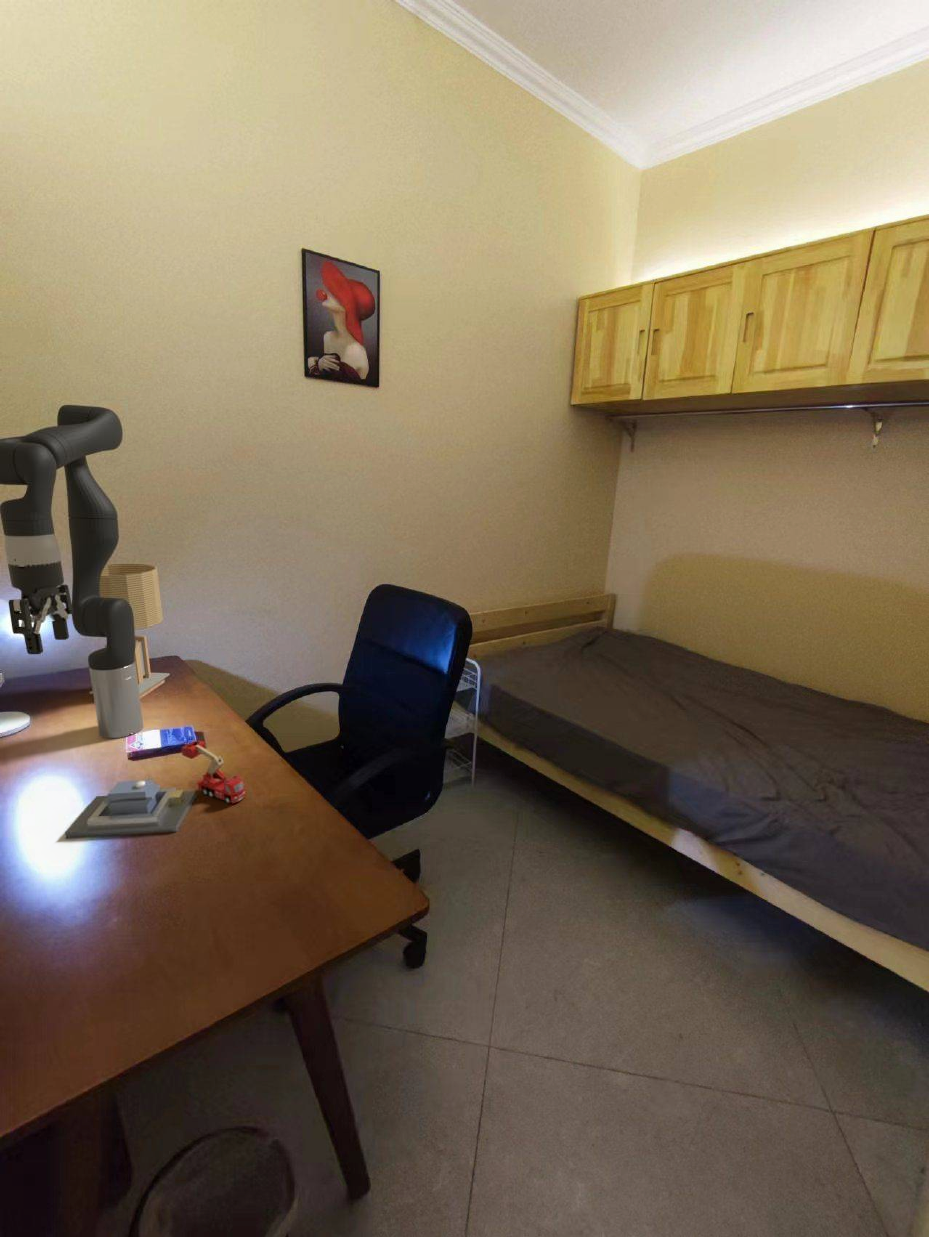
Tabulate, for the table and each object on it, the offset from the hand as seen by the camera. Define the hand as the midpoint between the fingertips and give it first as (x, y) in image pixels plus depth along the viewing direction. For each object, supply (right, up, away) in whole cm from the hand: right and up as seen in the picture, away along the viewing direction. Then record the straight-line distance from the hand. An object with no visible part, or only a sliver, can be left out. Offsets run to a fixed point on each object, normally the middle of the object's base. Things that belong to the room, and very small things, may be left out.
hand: (49, 646), depth 101 cm
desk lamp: (-19, -16, +56) cm, 61 cm away
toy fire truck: (+27, -30, +8) cm, 41 cm away
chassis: (+16, -32, 0) cm, 35 cm away
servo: (+16, -31, 0) cm, 34 cm away
